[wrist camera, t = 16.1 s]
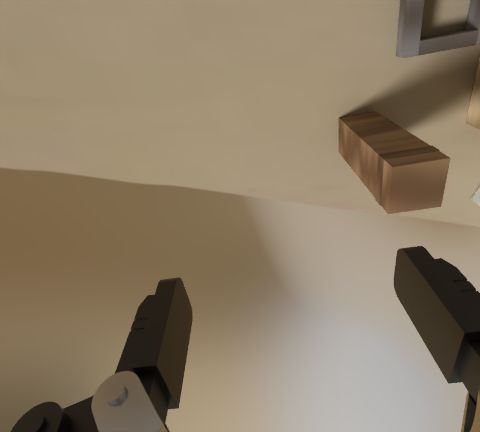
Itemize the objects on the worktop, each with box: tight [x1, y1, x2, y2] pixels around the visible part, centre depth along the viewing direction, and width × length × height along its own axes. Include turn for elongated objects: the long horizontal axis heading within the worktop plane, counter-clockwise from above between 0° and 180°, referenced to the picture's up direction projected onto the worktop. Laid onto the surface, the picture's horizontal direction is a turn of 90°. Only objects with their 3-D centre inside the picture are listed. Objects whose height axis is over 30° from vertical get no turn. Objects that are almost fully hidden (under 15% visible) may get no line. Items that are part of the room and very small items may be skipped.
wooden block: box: [339, 112, 450, 214], centre depth 29 cm, size 4×4×14 cm
